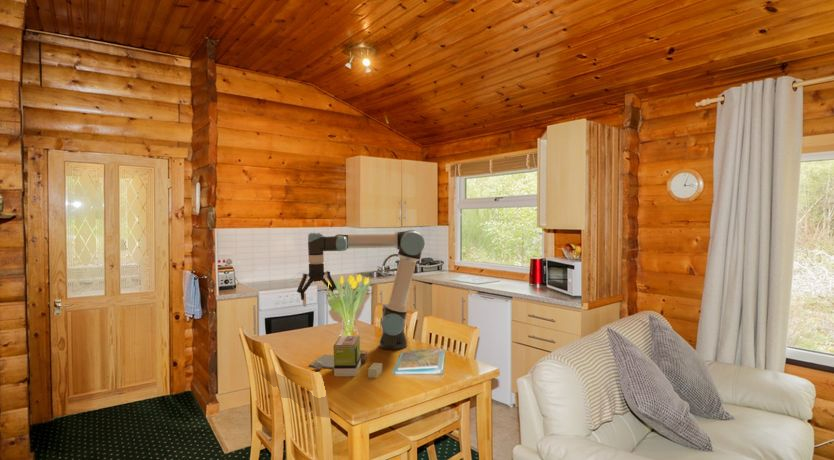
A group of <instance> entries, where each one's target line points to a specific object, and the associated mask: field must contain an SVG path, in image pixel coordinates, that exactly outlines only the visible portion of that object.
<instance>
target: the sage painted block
mask: <svg viewBox="0 0 834 460" xmlns="http://www.w3.org/2000/svg"><path fill="white" fill-rule="evenodd" d="M382 373H383V363H382V362H380V363H379V362H373V363H372V364H371V366H369V367H368V369H367V377H368V378H375V379H377V378H378V377H379V376H380V375H381V374H382Z"/></svg>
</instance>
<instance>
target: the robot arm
mask: <svg viewBox="0 0 834 460" xmlns="http://www.w3.org/2000/svg"><path fill="white" fill-rule="evenodd" d="M307 237H308V238H307V248H308V250H307V251H308V273H305V272H304V273H302V277H301V281H300V283H299V284H298V285H299V286H298V287H297V289H296V292H297V293H299V294H300V300H301V301H302V306H303V307H307V294H306V293H305V292H307V290H308V289H309V287H310V286H311V284H313V282H314V283H315V282H322V283H323V284H324V285H325V286H326V287H327V288H328V283H329V288H328V290H329V291H330V290H331V291H332V292H333V293H334V290H335V289H337V286H336V284H335V281H334V279H333V278H332V276H331V271H328V270H327V271H325V264H324V261H325V260H324V257H325V256H324V252H344V251H345V252H346V251H347V250H348V249H390V248H391V249H396V250H397V251H398V253H397V255H398V257H399V261H398V265H397V269H396V273H395V277H394V282H393V285H392V289H391V294H390V297H389V298H390V299H389V302H388V303H385V304H382V308H381V311H382V318H381V323H380V325H381V329H382V333H381V337H380V340H379V347H380V348H382V349H385V350H401V349H404V348H406V347H407V346H408V340H407V337H406V333H405V326H406V324H405V322H406V318H407V314H408V309H407V306H406V305H407V302H408V297H409V293H410V290H411V284H412V281H413V277H414V274H415V269H416V263H417V262H418V261H420V260H421V257H422V253H423V250H424V248H425V237H424V235H422V234H421V233H420V232H419V231H417V230H415V229H409V230H404V231H396V232H395V233H364V234H362V233H360V234H359V233H358V234H357V233H356V234H336V235H331V236H325V235H324V233H322V232H310V233H309V234H308V235H307ZM325 276H326V277H327V279H328V281H329V282H328V281H327V280H326V278H325ZM307 279H308V280H307ZM306 281H307V282H306ZM327 302H328V303H329V300H328V299H327Z"/></svg>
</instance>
